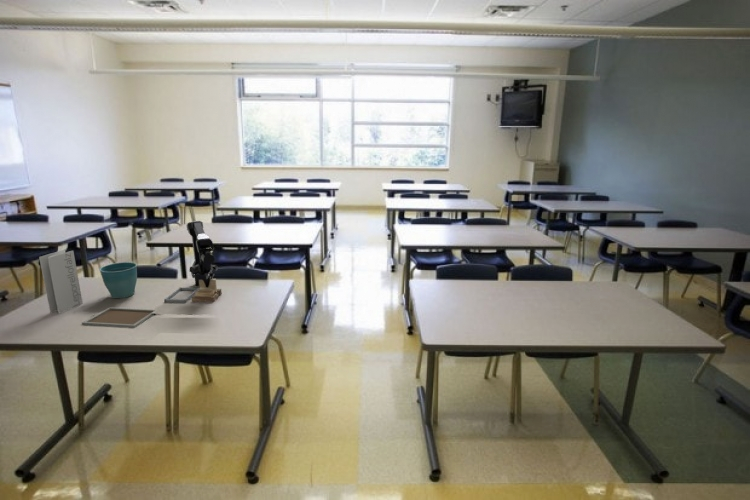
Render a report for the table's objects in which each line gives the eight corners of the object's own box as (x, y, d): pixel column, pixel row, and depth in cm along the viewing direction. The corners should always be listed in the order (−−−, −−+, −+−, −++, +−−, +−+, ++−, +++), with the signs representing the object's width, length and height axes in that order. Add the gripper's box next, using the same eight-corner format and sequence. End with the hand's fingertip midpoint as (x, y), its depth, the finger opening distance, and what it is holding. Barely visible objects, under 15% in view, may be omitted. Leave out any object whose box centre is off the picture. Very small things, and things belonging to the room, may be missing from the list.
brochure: (59, 314, 217) (48, 257, 209) (50, 313, 218) (38, 257, 210) (82, 303, 231) (73, 250, 223) (74, 302, 232) (64, 249, 224)
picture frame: (134, 325, 203) (76, 322, 206) (135, 328, 203) (77, 325, 206) (158, 309, 221) (104, 307, 224) (158, 312, 222) (105, 309, 225)
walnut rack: (201, 295, 244) (200, 288, 243) (221, 296, 244) (221, 288, 243) (192, 303, 232) (191, 296, 231) (214, 304, 232) (213, 296, 231)
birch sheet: (201, 295, 241) (199, 278, 238) (217, 295, 241) (215, 278, 238) (200, 296, 239) (198, 279, 237) (216, 296, 239) (214, 279, 237)
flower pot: (107, 303, 231) (102, 273, 227) (101, 294, 245) (96, 266, 240) (144, 295, 243) (140, 267, 239) (136, 287, 256) (132, 260, 252)
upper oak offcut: (198, 294, 237) (198, 290, 236) (214, 294, 237) (214, 290, 236) (195, 296, 233) (195, 292, 232) (211, 296, 233) (211, 293, 232)
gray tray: (180, 292, 249) (179, 287, 248) (200, 292, 249) (199, 287, 248) (164, 304, 231) (164, 299, 230) (186, 304, 231) (185, 299, 230)
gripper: (197, 255, 244) (200, 281, 248) (183, 264, 226) (186, 292, 230) (217, 255, 244) (219, 281, 248) (204, 265, 226) (207, 292, 230)
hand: (208, 286), depth 239 cm, fingers closed
